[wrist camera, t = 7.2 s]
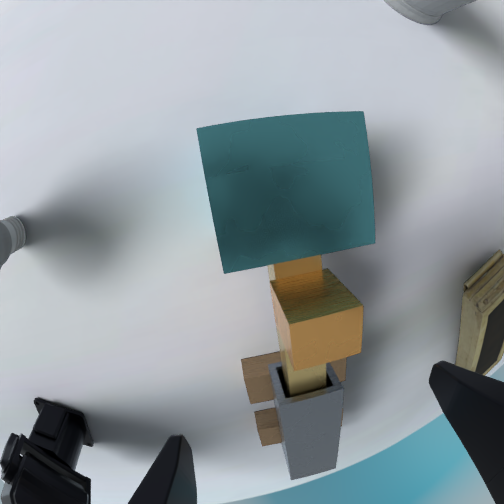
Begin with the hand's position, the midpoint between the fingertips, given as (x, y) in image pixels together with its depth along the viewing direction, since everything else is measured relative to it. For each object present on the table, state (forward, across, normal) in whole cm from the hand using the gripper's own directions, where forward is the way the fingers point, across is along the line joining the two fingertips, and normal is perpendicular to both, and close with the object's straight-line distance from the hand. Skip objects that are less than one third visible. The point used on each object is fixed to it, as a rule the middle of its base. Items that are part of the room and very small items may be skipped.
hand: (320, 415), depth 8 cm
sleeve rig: (+13, -1, +4) cm, 14 cm away
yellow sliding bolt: (+9, -1, +3) cm, 10 cm away
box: (+13, -24, +13) cm, 30 cm away
